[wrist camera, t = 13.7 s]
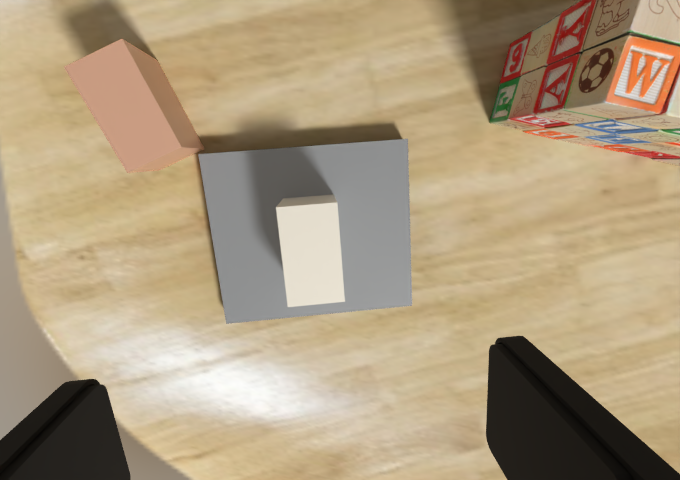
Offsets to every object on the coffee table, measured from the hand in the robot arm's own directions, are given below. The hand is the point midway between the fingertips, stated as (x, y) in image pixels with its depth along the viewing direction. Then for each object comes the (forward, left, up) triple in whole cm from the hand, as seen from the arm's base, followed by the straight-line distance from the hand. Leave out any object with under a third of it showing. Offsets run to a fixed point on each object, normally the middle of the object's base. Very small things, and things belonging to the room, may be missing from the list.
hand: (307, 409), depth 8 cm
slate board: (0, 0, -22) cm, 22 cm away
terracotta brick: (-10, -11, -22) cm, 26 cm away
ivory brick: (+1, 0, -20) cm, 20 cm away
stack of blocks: (-8, +26, -22) cm, 35 cm away
